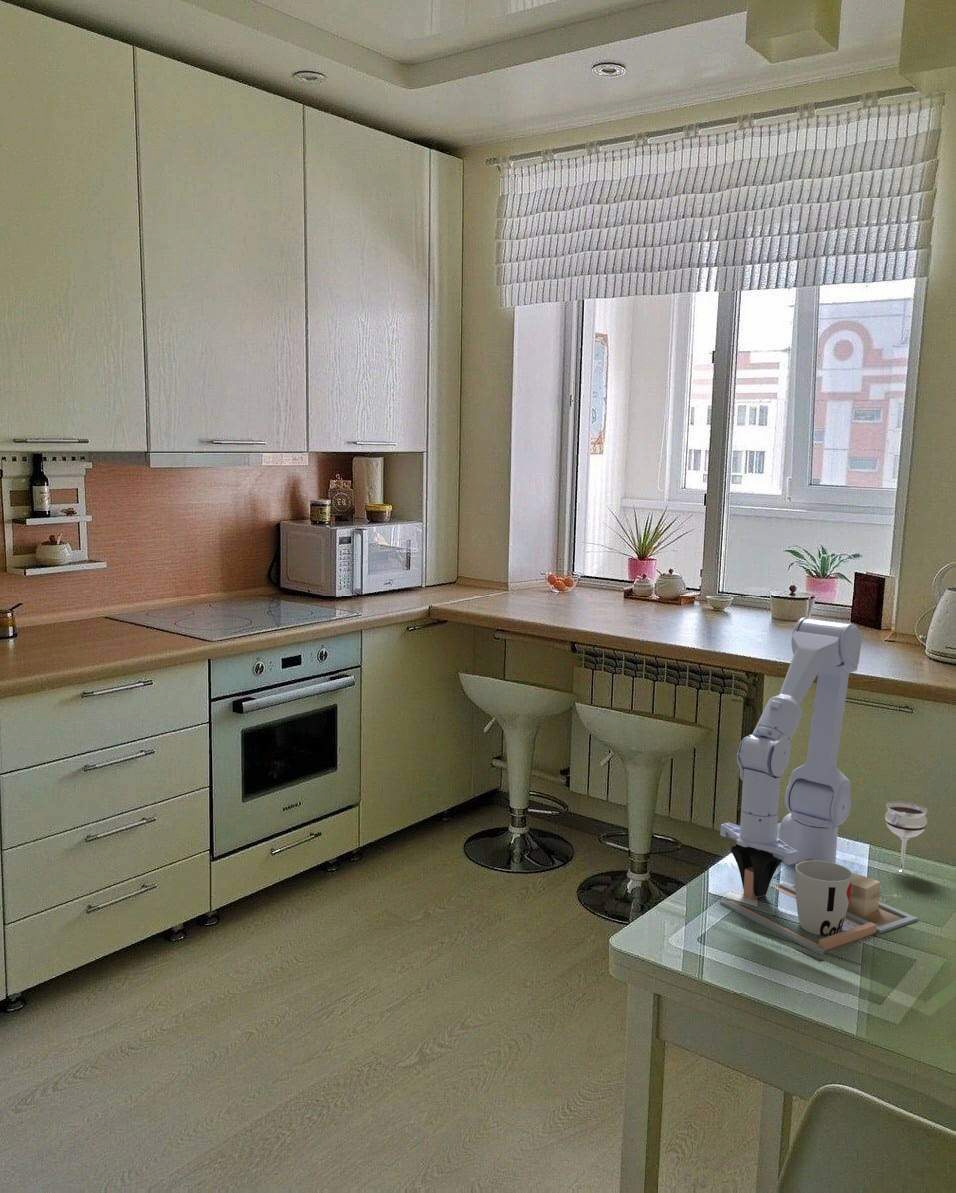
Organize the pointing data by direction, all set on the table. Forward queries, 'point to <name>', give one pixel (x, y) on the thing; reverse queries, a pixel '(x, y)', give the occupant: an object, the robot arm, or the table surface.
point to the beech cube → (863, 895)
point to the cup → (822, 896)
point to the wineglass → (905, 823)
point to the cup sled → (823, 943)
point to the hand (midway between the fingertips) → (754, 892)
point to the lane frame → (906, 920)
